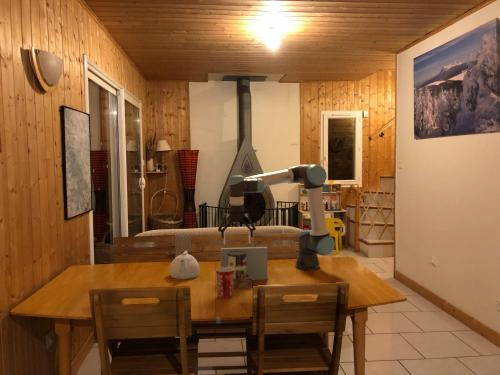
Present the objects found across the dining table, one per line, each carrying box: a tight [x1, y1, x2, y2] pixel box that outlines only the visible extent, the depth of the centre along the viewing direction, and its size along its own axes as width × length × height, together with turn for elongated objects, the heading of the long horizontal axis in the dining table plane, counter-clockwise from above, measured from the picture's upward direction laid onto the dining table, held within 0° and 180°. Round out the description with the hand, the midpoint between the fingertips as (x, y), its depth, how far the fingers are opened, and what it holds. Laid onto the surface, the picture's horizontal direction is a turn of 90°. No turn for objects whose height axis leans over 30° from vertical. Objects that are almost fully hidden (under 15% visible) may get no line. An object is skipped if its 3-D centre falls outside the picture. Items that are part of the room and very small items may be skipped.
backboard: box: [220, 246, 268, 281], centre depth 242 cm, size 26×2×18 cm, turn 98°
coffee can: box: [227, 251, 247, 278], centre depth 233 cm, size 10×10×14 cm
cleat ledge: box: [233, 275, 253, 289], centre depth 233 cm, size 14×14×5 cm
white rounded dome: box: [169, 250, 200, 280], centre depth 251 cm, size 19×18×14 cm
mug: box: [215, 267, 234, 299], centre depth 211 cm, size 13×9×14 cm
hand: (237, 243), depth 232 cm, fingers open, 13 cm apart
